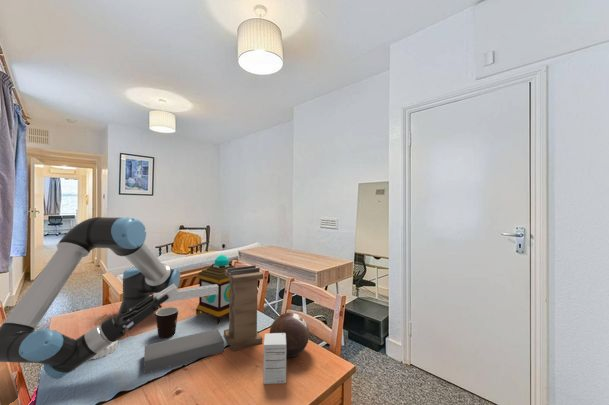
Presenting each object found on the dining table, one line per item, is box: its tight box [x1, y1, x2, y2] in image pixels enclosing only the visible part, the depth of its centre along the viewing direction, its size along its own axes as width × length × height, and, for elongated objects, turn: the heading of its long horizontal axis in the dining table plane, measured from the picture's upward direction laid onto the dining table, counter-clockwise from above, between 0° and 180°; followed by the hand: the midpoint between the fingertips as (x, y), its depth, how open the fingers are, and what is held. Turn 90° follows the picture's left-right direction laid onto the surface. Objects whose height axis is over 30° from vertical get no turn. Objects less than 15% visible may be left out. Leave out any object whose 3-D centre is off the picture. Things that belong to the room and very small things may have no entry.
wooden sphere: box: [269, 312, 310, 358], centre depth 98 cm, size 15×15×15 cm
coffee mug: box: [155, 306, 179, 339], centre depth 112 cm, size 12×9×10 cm
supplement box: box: [262, 332, 287, 385], centre depth 86 cm, size 7×7×13 cm
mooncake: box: [89, 339, 119, 361], centre depth 98 cm, size 12×12×4 cm
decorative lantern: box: [195, 254, 236, 324], centre depth 132 cm, size 20×20×30 cm
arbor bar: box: [152, 284, 218, 304], centre depth 97 cm, size 3×22×3 cm, turn 121°
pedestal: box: [223, 264, 264, 352], centre depth 108 cm, size 14×12×30 cm
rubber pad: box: [143, 328, 225, 374], centre depth 97 cm, size 11×26×4 cm, turn 121°
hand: (176, 287), depth 95 cm, fingers closed on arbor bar, 3 cm apart
